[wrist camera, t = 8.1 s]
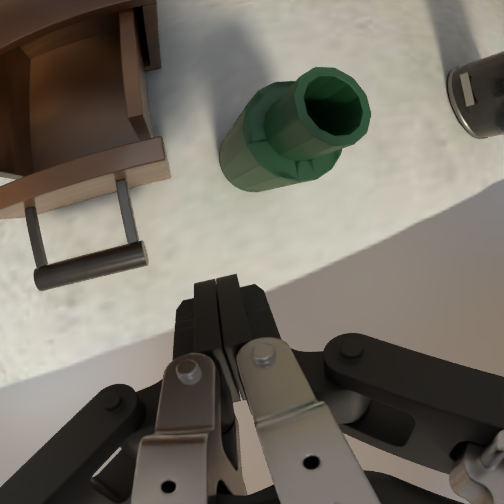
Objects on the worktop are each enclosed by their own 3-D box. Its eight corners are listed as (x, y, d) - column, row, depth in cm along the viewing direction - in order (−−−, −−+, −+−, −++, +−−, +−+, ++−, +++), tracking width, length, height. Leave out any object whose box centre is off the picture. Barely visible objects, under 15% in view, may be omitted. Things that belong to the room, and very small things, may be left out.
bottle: (278, 122, 23) (371, 50, 10) (292, 185, 24) (401, 165, 11) (213, 130, 22) (253, 45, 9) (226, 198, 23) (284, 181, 10)
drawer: (185, 246, 22) (187, 265, 14) (44, 280, 19) (-7, 311, 12) (148, 23, 18) (142, -39, 11) (21, 63, 16) (-20, 23, 9)
